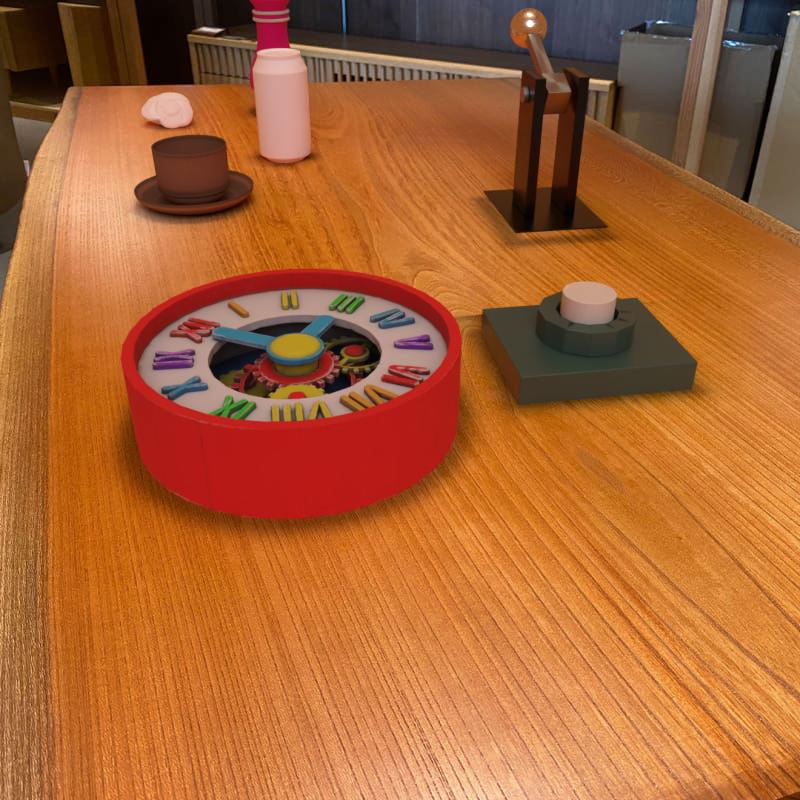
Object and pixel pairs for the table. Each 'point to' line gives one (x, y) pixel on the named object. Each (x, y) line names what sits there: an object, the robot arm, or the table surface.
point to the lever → (541, 58)
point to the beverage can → (282, 105)
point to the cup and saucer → (192, 177)
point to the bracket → (559, 202)
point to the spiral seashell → (168, 110)
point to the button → (588, 303)
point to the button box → (584, 353)
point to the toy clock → (294, 391)
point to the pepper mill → (270, 26)
